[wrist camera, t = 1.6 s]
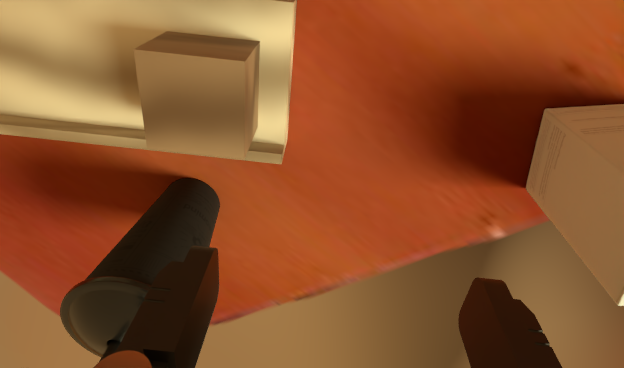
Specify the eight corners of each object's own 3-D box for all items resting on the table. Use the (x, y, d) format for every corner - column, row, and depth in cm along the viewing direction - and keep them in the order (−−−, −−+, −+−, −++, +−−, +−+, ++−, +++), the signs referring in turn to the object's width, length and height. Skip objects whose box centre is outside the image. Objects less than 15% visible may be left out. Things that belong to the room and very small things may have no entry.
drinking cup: (188, 245, 38) (70, 490, 21) (132, 187, 35) (-60, 420, 18) (252, 215, 36) (178, 462, 19) (199, 149, 33) (52, 375, 16)
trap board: (-227, -208, 22) (-328, -235, 19) (306, -148, 22) (301, -163, 19) (-87, 100, 32) (-138, 119, 28) (287, 140, 32) (281, 164, 28)
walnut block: (166, 31, 26) (133, 49, 21) (259, 41, 26) (245, 61, 21) (175, 118, 29) (147, 149, 24) (257, 127, 29) (244, 159, 24)
